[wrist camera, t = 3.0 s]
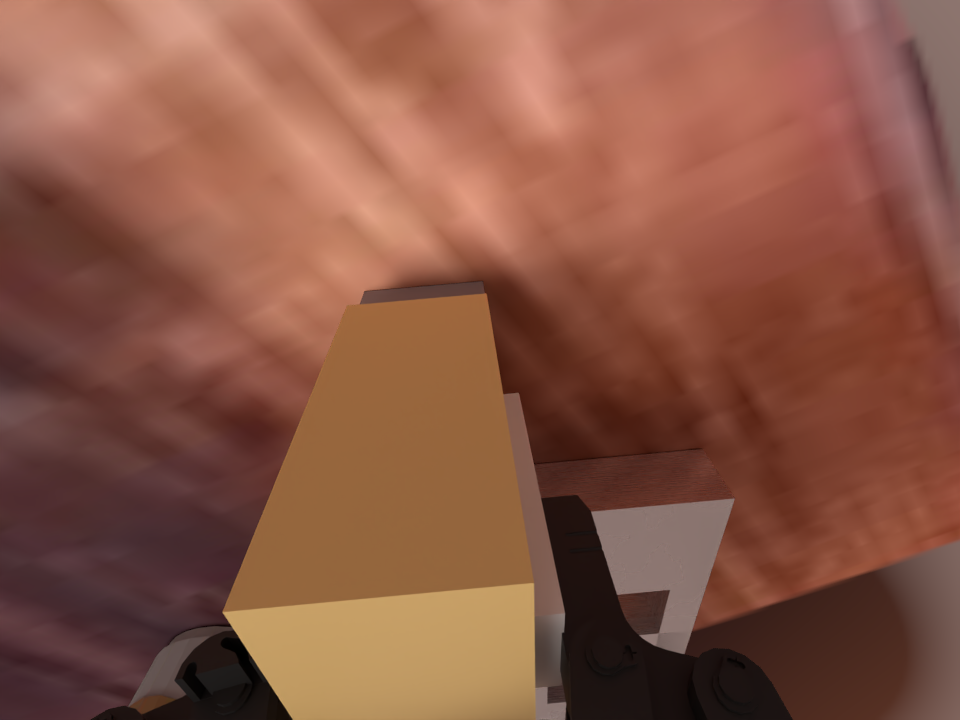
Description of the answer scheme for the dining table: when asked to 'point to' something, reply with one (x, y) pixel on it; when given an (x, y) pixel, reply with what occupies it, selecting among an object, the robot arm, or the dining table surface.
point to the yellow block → (397, 528)
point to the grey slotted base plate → (647, 539)
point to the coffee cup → (169, 670)
